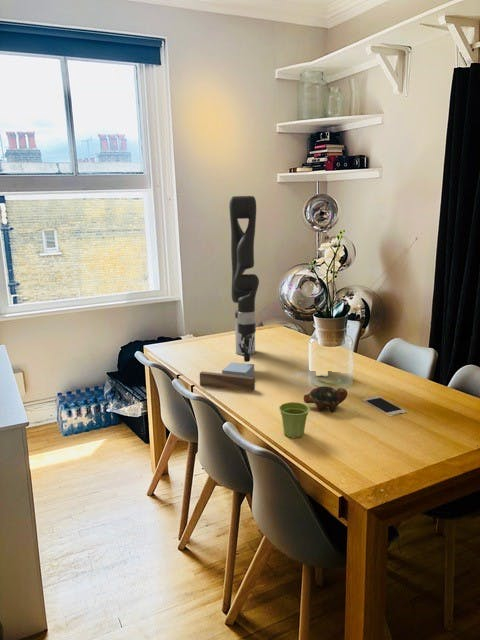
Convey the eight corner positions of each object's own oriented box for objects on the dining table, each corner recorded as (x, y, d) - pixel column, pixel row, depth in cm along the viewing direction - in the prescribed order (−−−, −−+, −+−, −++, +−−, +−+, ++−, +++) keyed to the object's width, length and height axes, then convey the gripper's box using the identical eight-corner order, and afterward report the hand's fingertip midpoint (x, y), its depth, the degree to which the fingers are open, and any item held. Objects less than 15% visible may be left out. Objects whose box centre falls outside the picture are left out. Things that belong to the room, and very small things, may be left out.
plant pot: (310, 428, 165) (311, 403, 163) (307, 442, 156) (308, 415, 154) (281, 426, 167) (281, 401, 165) (276, 439, 158) (276, 412, 156)
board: (202, 383, 207) (202, 371, 205) (254, 389, 199) (254, 377, 198) (200, 385, 204) (199, 373, 203) (252, 391, 197) (252, 379, 196)
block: (231, 372, 220) (231, 362, 219) (254, 374, 217) (254, 364, 216) (222, 380, 210) (222, 370, 209) (245, 383, 207) (245, 372, 206)
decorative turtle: (348, 414, 175) (347, 392, 172) (303, 415, 178) (301, 393, 175) (347, 402, 184) (347, 381, 182) (304, 402, 187) (303, 382, 185)
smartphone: (389, 417, 173) (389, 414, 173) (361, 401, 187) (361, 399, 187) (406, 413, 176) (406, 411, 175) (378, 398, 190) (378, 395, 189)
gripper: (243, 317, 225) (244, 356, 229) (232, 324, 213) (233, 364, 217) (260, 318, 223) (260, 357, 226) (249, 325, 211) (250, 366, 214)
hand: (247, 361), depth 222 cm, fingers closed
